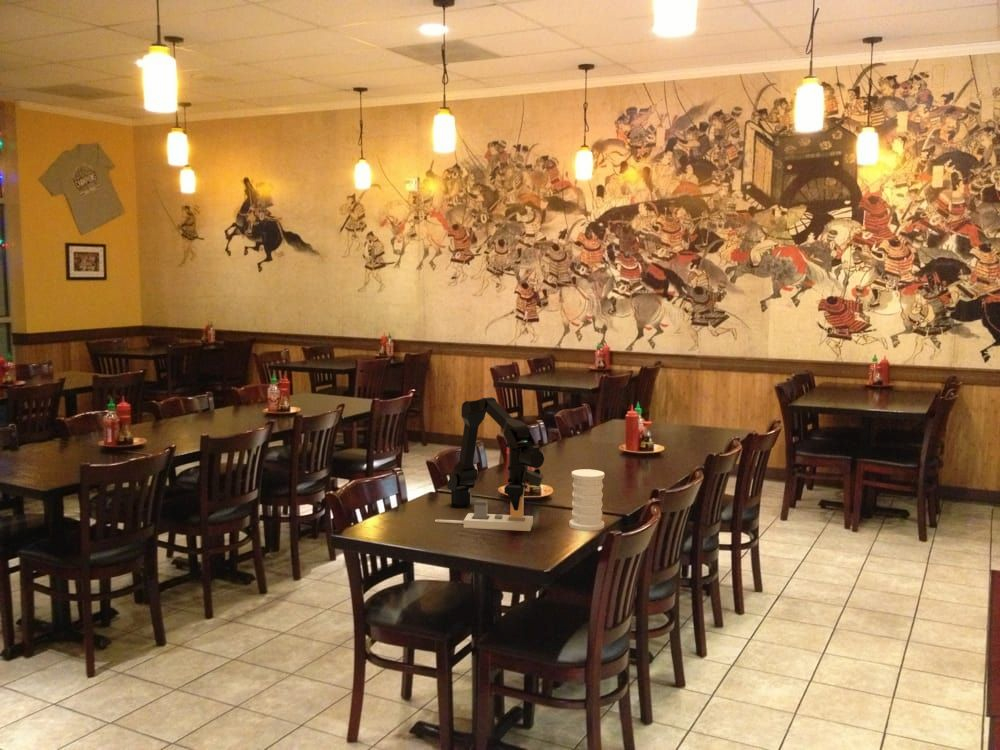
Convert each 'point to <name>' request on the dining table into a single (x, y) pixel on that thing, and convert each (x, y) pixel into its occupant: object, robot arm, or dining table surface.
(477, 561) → the dining table surface
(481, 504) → the twin plug
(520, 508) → the plug
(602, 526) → the decorative container
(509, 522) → the power strip
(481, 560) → the dining table surface
